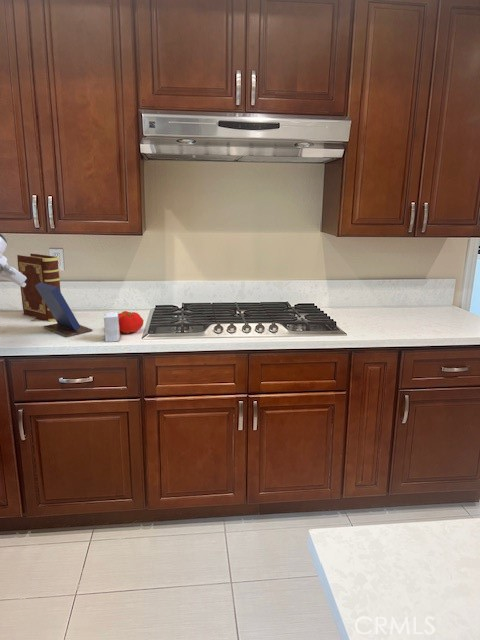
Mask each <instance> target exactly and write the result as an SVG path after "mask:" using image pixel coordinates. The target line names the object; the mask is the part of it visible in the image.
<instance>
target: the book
mask: <svg viewBox="0 0 480 640" xmlns="http://www.w3.org/2000/svg"><path fill="white" fill-rule="evenodd" d="M35 287H36V289H37V291H38V292H39V294H40V295H41V297H42V299H43V300H44V302H45V304H46V305H47V307H48V309H49V310H50V312H51V313H52V315H53V317H54V318H55V320H56V321H55V323H56V324H57V323H58V325H61V326H64V327H66V328H69V329H71V330H74V331H76V330H78V329H79V328H80V327H81V326H82V325H81V324H80V323H79V321H78V319H77V318H76V316H75V314H74V312H73V311H72V309H71V307H70V306H69V304H68V302H67V301H66V299H65V297H64V296H63V294H62V291H61V292H60V290H61V289H60V290H59V289H58V287H56V286H52V285H49V284H45V283H42V282H40V283H38V284H37V285H35ZM80 325H81V326H80Z"/></svg>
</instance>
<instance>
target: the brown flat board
mask: <svg viewBox="0 0 480 640" xmlns="http://www.w3.org/2000/svg"><path fill="white" fill-rule="evenodd" d="M79 325H80V326H81V327H80V328H79V329H78V330H76V331H74V330H71V329H69V328H66V327H64V326H61V325H58V323H57V322H56V323H53V324H48V325H43V328H44V329H46V330H48V331H50V332H52V333H55V334H58V335H60V336H63V337H65V338H70V337H74V336H79V335H82V334H87V333H92V332H93V329H92V328H89V327H87V326H84V325H81V324H79Z"/></svg>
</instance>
